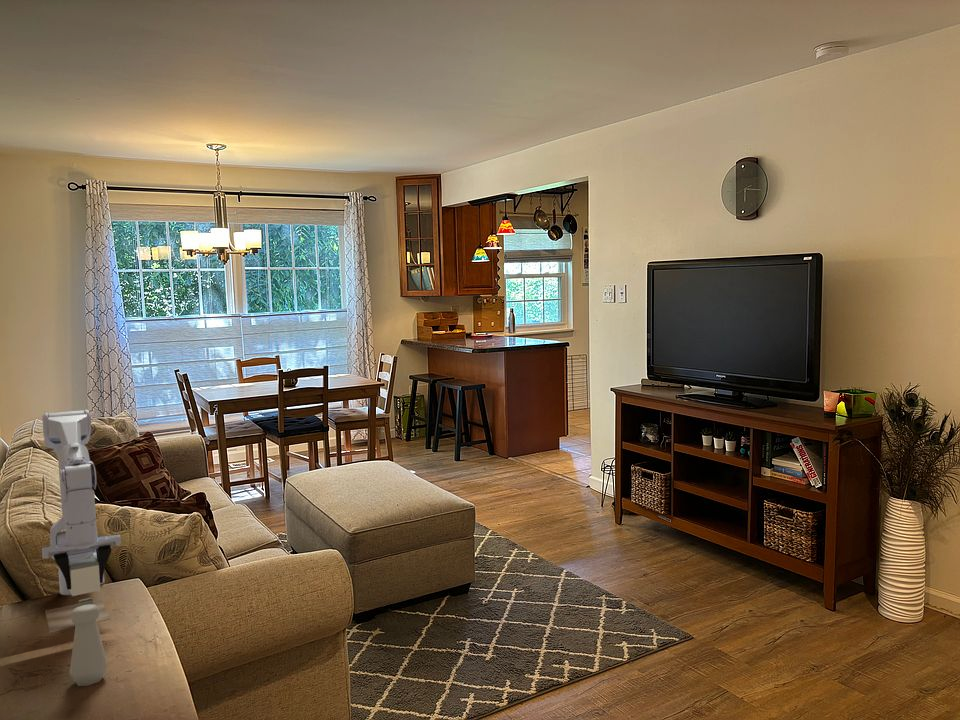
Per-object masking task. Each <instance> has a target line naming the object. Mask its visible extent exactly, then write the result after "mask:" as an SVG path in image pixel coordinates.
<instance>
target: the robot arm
mask: <svg viewBox="0 0 960 720" xmlns="http://www.w3.org/2000/svg"><path fill="white" fill-rule="evenodd" d="M91 418H92V417H91V412H90V411H89V410H88V409H86V408H85V409H84V410H83V409H82V410H71V411H59V412H44V413H43V414H42V419H41V420H42V431H43V432H42V433H43V438H44V439H43V440H44V444H45V447H46V448H49V449H52V450H54V452H55V454H56V456H57V462H58V463H57V464H58V475H59V477H58V478H59V487H60V488H59V489H60V503H61V504H60V505H61V518H60V519H58V520H57V521H56V522H55V523H53V524H52V525H51V527H50V529H49V532H50V533H49V543H50V545H49V546H45V547H41V556H42V559H49V558H51V559H53V561H54V562H55V563H56V565H57V568H58V581H59V584H58V585H59V594H60V595H62V596H72V594H71V591H70V589H71V580H70V574H69V562H71V561H76V560H82V559H87V558H92V557H96V558H97V560H98V562H99V576H100V585H102V584H103V585H104V584H105V581H106V580H105V569H106V565H107V563H108V561H109V558H110V556H111V554H112V548H111V547H113V546H116V547H118V546H121V545H122V539H121V535H120V534H115V535H107V536H99V534H98V529H97V516H96V500H95V499H96V498H95V497H96V496H95V491H94V490H96V488H97V471H96V466H95V463H94V462H93V461H92V460H91V458H90V453H89V450H88V448H87V446H86V444H88V443H89V441H90V438H91V434H92V419H91ZM64 530H65V531H64Z"/></svg>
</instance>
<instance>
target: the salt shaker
mask: <svg viewBox="0 0 960 720" xmlns="http://www.w3.org/2000/svg"><path fill="white" fill-rule="evenodd" d="M98 617H99V608H98V606H96V605H93V604H88V605H83V606H80V607H77V608H75V609H74V610H73V611H72V614H71V620H72V622H73V623H74V624H76V627H74V635H73V643H72V650H71V659H70V666H69V671H68V672H69V675H70V677H71V678H72V680H73V681H74V682H75V684H76V685H77V687H85V686H87V687H88V686H89V687H90V686H91V685H94V684H96V683H99V682H101V680H102V679H103V677H104V674H105V672H106V669H107V665H108V660H107V657H106V656H107V655H106V652H105V649H104V644H103V641H102V637H101V634H100V630H99V625H98V622H96V619H97V618H98Z"/></svg>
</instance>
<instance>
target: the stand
mask: <svg viewBox="0 0 960 720" xmlns="http://www.w3.org/2000/svg"><path fill="white" fill-rule="evenodd" d="M88 604H93V605H96V606H98V608H99V617H98V618H97V619H96V622H97V623H100V622H103V621H108V620H111V617H110V615H109V614H108V611H107V608H106V607H105V604H104V602H103V600H102V599H101V598H99V599H92V597H89V598H83V599H79V600H78V603H76V604H75V603H74V604H70V605H65V606H61V607H57V608H55V607H54V608H52V609H47V610H44V611H45V612H44V613H45V617H46V622H47V626H48V632H49V634H52V633H56V632H60V631H64V630H69V629H73V628H74V629H75V627H76V624H74V623H73V622H72V620H71V614H72V611H73V610H74V609H75V608H77V607H80V606H83V605H88Z"/></svg>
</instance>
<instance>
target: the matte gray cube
mask: <svg viewBox="0 0 960 720" xmlns="http://www.w3.org/2000/svg"><path fill="white" fill-rule="evenodd" d="M69 574H70V580H71V589H70V591H71V594H72V595H71V597H75V596H79V595H86V594H89V593H95V592H99V591H101V584H100V576H99V562H98V560H97V558H96V557H92V558H87V559H82V560H76V561H71V562H69Z"/></svg>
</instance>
